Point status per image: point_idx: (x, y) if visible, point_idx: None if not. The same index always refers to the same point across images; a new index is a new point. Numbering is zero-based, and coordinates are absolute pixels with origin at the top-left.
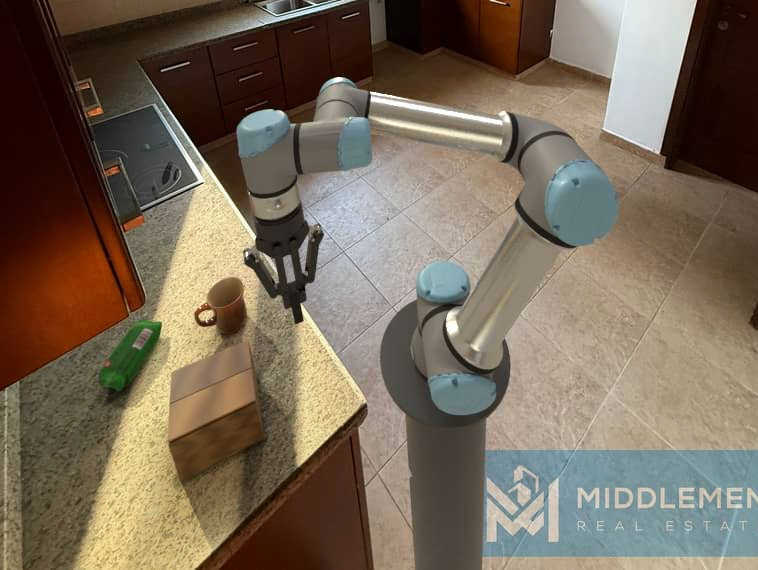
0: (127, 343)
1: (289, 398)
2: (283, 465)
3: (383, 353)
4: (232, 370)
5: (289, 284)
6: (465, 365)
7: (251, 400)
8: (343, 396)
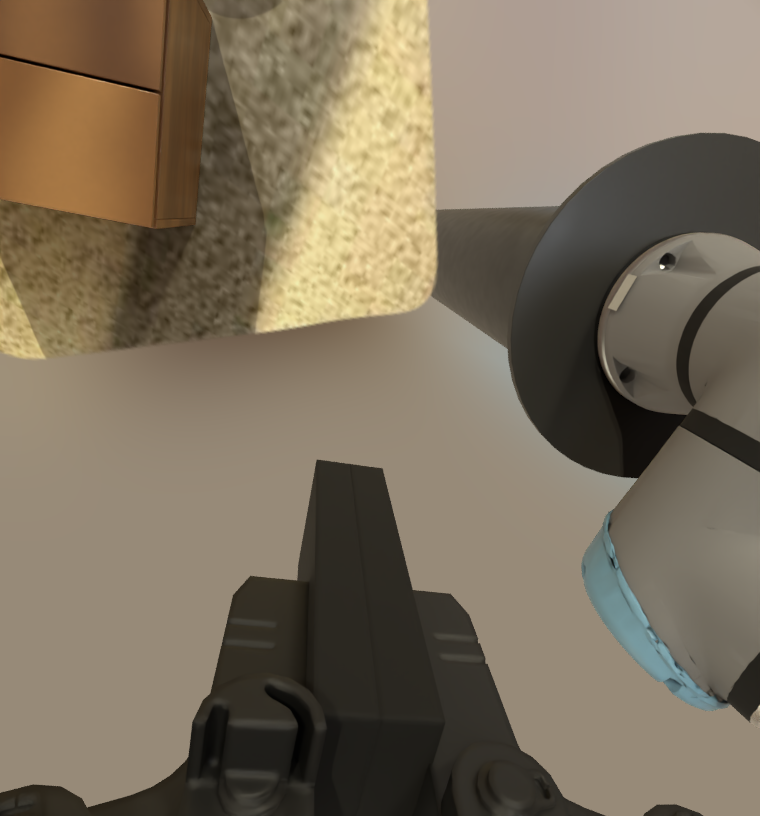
0: None
1: (286, 167)
2: (225, 311)
3: (562, 224)
4: (81, 46)
5: (342, 745)
6: (733, 704)
7: (138, 222)
8: (414, 262)
